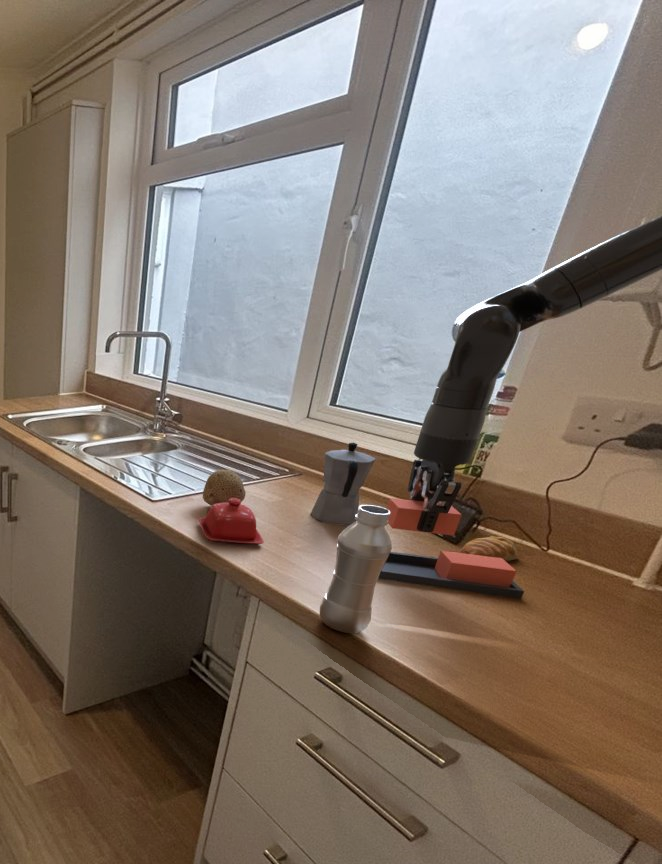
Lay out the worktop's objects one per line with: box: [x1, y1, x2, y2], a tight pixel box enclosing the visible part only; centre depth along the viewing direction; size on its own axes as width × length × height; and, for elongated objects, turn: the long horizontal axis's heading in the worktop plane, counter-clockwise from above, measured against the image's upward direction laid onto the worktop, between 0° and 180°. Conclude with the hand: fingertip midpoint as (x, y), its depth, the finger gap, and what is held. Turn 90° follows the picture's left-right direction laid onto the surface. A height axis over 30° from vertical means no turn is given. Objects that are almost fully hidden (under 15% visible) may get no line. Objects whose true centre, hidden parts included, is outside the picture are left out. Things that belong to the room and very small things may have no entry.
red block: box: [434, 550, 518, 588], centre depth 93 cm, size 9×5×4 cm, turn 69°
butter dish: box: [198, 498, 264, 545], centre depth 112 cm, size 12×12×8 cm
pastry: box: [460, 535, 519, 562], centre depth 102 cm, size 9×7×4 cm
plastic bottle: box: [319, 504, 393, 634], centre depth 79 cm, size 6×7×20 cm
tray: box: [378, 551, 525, 600], centre depth 96 cm, size 22×10×2 cm, turn 69°
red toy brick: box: [386, 497, 462, 537], centre depth 93 cm, size 9×5×4 cm, turn 69°
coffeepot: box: [310, 442, 376, 527], centre depth 117 cm, size 15×9×18 cm, turn 153°
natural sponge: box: [202, 469, 247, 507], centre depth 125 cm, size 9×9×10 cm
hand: (418, 524), depth 94 cm, fingers closed on red toy brick, 5 cm apart
